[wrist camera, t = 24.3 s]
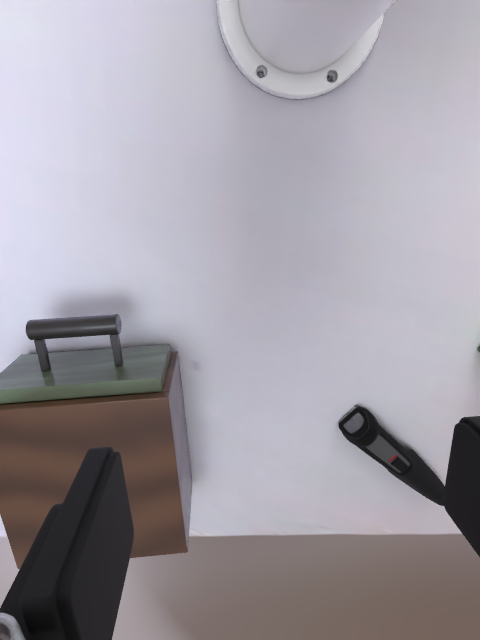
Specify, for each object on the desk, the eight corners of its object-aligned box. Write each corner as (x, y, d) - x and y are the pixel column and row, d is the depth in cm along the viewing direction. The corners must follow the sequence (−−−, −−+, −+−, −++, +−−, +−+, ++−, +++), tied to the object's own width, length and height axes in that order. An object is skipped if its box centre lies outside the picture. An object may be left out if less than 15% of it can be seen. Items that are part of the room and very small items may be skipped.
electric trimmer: (419, 495, 46) (434, 517, 43) (334, 424, 41) (344, 443, 38) (444, 475, 45) (460, 496, 42) (359, 401, 41) (372, 418, 38)
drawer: (9, 309, 34) (-38, 337, 27) (164, 299, 35) (153, 324, 28) (53, 482, 40) (23, 538, 34) (184, 470, 41) (179, 523, 34)
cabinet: (22, 362, 37) (-33, 412, 28) (177, 351, 37) (168, 397, 29) (56, 494, 42) (17, 569, 33) (192, 481, 43) (187, 552, 34)
